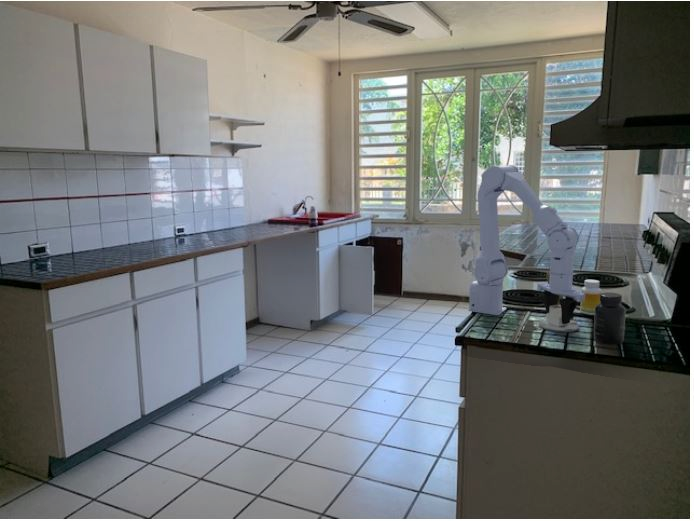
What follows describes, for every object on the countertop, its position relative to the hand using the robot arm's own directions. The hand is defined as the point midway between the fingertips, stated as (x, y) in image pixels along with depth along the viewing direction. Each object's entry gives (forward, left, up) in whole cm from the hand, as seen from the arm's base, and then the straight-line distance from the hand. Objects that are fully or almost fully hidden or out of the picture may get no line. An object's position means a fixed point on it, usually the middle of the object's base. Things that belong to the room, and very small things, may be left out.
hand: (558, 320), depth 137 cm
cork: (-6, +21, -2) cm, 22 cm away
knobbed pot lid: (0, 0, -2) cm, 2 cm away
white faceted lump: (0, 0, -1) cm, 1 cm away
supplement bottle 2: (+13, -5, -2) cm, 14 cm away
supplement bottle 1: (+5, +18, -2) cm, 19 cm away
